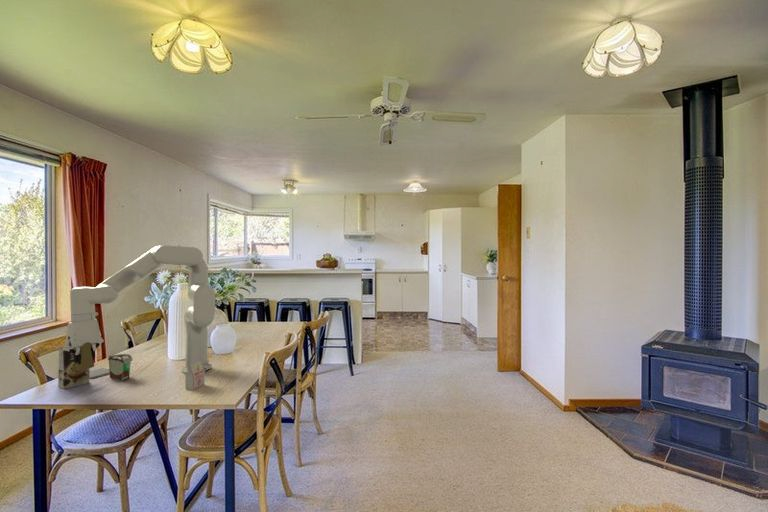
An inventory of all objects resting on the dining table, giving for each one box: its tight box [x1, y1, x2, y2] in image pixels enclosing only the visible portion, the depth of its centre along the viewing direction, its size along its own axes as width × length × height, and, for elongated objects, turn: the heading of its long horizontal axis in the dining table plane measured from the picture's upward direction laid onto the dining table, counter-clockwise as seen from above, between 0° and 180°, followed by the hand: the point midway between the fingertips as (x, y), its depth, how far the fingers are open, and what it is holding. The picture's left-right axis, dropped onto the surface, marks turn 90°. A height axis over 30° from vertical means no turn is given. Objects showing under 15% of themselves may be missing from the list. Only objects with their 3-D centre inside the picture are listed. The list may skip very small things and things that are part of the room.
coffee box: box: [57, 346, 91, 390], centre depth 157 cm, size 9×6×16 cm
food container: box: [107, 353, 133, 382], centre depth 165 cm, size 12×6×10 cm, turn 65°
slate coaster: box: [89, 367, 110, 380], centre depth 170 cm, size 10×10×1 cm
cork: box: [75, 342, 95, 370], centre depth 148 cm, size 6×6×11 cm
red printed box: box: [184, 361, 206, 391], centre depth 155 cm, size 4×7×10 cm, turn 167°
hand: (84, 361), depth 148 cm, fingers closed on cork, 4 cm apart
